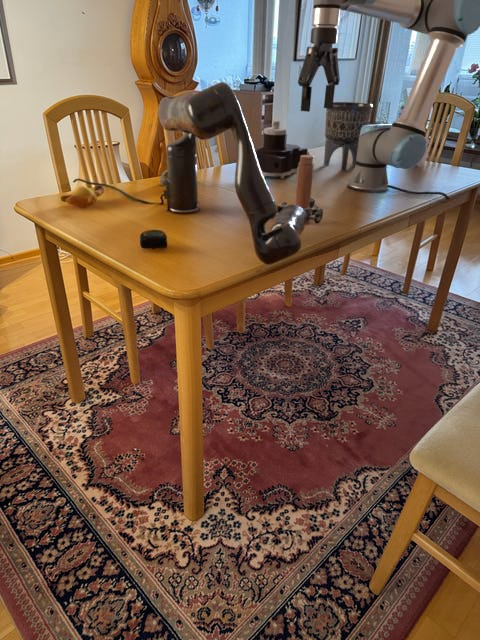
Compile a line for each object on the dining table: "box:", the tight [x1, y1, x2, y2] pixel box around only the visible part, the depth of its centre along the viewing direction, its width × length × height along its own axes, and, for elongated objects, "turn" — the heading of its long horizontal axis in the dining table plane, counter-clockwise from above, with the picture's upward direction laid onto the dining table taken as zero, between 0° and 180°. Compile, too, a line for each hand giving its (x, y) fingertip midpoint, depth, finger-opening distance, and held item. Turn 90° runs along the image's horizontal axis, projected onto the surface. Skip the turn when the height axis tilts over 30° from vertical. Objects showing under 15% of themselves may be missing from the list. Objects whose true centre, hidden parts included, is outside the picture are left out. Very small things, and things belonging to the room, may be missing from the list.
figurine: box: [415, 136, 430, 167], centre depth 213 cm, size 8×15×13 cm, turn 145°
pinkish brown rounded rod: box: [294, 154, 315, 225], centre depth 134 cm, size 4×4×19 cm
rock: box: [159, 168, 168, 187], centre depth 175 cm, size 13×9×6 cm, turn 131°
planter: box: [323, 101, 374, 172], centre depth 204 cm, size 20×20×26 cm
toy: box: [60, 185, 105, 208], centre depth 150 cm, size 11×6×15 cm
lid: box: [309, 197, 316, 208], centre depth 153 cm, size 5×5×2 cm
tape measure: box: [139, 229, 168, 250], centre depth 117 cm, size 7×7×4 cm
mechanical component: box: [255, 120, 311, 179], centre depth 191 cm, size 22×21×30 cm
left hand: (299, 206), depth 130 cm, fingers open, 8 cm apart
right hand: (316, 109), depth 139 cm, fingers open, 13 cm apart
